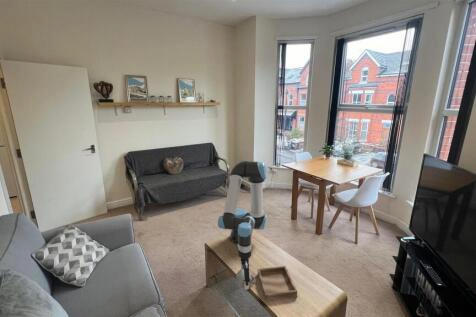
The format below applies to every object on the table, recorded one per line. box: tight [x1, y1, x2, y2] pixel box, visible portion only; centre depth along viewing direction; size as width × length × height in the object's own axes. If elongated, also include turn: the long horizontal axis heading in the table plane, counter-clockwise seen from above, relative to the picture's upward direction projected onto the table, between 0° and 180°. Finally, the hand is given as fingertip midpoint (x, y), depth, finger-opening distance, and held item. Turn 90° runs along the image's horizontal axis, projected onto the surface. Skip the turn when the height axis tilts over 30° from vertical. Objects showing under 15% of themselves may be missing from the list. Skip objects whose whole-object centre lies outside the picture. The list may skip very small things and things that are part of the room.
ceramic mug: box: [235, 268, 256, 289], centre depth 137 cm, size 11×8×8 cm
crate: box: [257, 265, 298, 302], centre depth 136 cm, size 20×18×4 cm
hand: (245, 281), depth 137 cm, fingers open, 11 cm apart
